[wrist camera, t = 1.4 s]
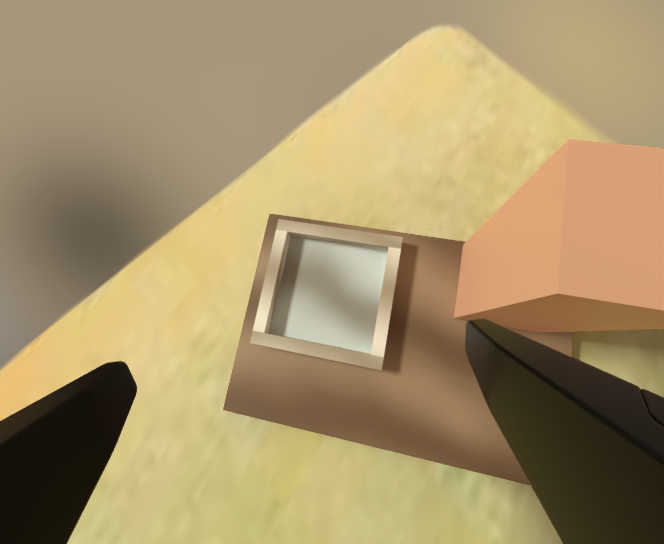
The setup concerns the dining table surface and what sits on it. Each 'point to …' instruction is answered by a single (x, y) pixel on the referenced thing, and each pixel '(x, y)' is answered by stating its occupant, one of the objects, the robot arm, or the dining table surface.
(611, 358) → the dining table surface
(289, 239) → the baseboard
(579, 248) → the pillar
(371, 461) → the dining table surface
